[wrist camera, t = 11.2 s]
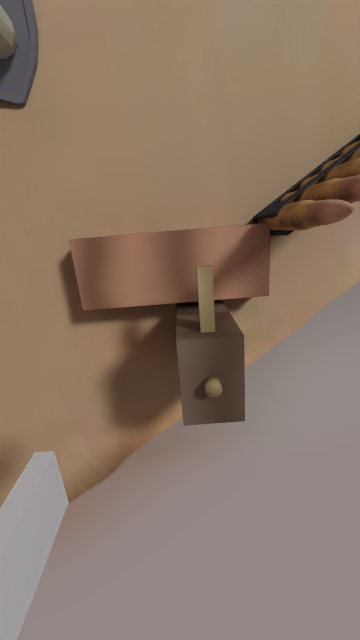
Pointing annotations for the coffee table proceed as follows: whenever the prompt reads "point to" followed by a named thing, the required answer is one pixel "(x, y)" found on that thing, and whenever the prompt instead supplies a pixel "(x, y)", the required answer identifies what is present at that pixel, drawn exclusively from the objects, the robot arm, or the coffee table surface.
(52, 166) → the coffee table surface
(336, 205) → the ammunition clip
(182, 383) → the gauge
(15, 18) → the hand plane
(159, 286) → the board
